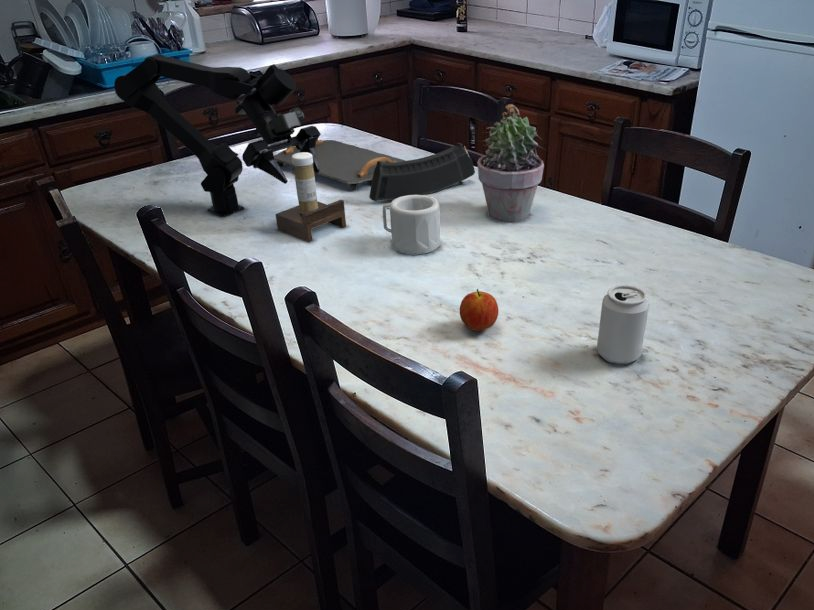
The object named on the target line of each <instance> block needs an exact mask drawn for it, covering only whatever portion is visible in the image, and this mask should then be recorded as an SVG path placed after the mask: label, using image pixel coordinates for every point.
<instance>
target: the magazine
mask: <svg viewBox="0 0 814 610" xmlns="http://www.w3.org/2000/svg"><path fill="white" fill-rule="evenodd" d="M475 173H476V170H475V166H474V163H473V159H472V157H470V155H469V152H468V149H467V148H466V146H465V145H464V146H463V143H461V142H456V144H454V146H451V147H449V148H446V149H445V150H442V151H440V152H437V153H434V154H431V155H428V156H425V157H420V158H416V159H409V160H405V161H402V162H392V163H386V162H381V161H378V162H377V165H376V167H375V169H374V174H373V179H372V180H371V185H370V190H369V195H368V198H369V199H370V201H373V202H379V201H391V200H392V201H393V200H394V199H396V198H399V197H402V196H407V195H425V196H427V195H430V194H433V193H436V192H440V191H442V190H444V189H447V188H449V187H451V186H454V185H457V184H460V185H463V182H464V181H465V180H467V179H469V178H471V177H472V176H474V175H475Z"/></svg>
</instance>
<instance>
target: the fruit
mask: <svg viewBox="0 0 814 610" xmlns="http://www.w3.org/2000/svg"><path fill="white" fill-rule="evenodd" d="M498 304H499V303H498V302H497V299H496V298H495V297H494V296H493V295H492V294H490V293H489V292H486V291H482V290H481V291H480V290H479V288H476V291H472V292H470V293H468V294H466V295H465V296H464V297H463V298H462V300H461V302H460V305H459V317H460V320H461V322H462V323H463V324H464V326H466V327H467V328H468V329H469V330H472V331H476V332H478V331H486V330H488V329H490V328H491V327H493V326H494V324H495V323H496V321H497V319H498V317H499V305H498Z"/></svg>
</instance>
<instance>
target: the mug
mask: <svg viewBox="0 0 814 610" xmlns="http://www.w3.org/2000/svg"><path fill="white" fill-rule="evenodd" d="M387 208H389V219H390V227H388V222H387V220H388V219H387ZM382 223H383V229H384V230H385V231H386V232H389V233H390V234H391V235H390V236H391V246H392V248H393V249H395V251H397V252H400V253H402V254H406V255H424V254H429V253H432V252H434V251H436V250H437V249H438V248H439V247H440V246H441V210H440V202H439V201H438V200H437V199H436V198H434V197H432V196H429V195H407V196H402V197H399V198H396V199H392V201H391V202H390V203H384V204H383V205H382Z"/></svg>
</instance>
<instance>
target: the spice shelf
mask: <svg viewBox="0 0 814 610" xmlns="http://www.w3.org/2000/svg"><path fill="white" fill-rule="evenodd" d="M317 203H318V208H317V209H315V210H312V211H310V212H307V213H304V214H301V213H300V212H299V204H298V205H295V206H292V207H290V208H286V209H285V210H281V211H280V212H277V213H275V215H274V216H275V222H276V229H277V231H278V232H282V233H284V234H286V235H289V236H291V237H294V238H297V239H299V240H302V241H305V242H307V243H312V242H313V241H314V239H313V232H312V229H315V228H317V227H321V226H322V225H325V224H327V223H328V224H331V225H333V226H336V227H339V228H341V229H344V228H347V220H346V212H345V211H346V208H345V201H344V199H338V200H335V201H333V202H330V203H328V204H327V203H324V202H320V201H318V200H317Z"/></svg>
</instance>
